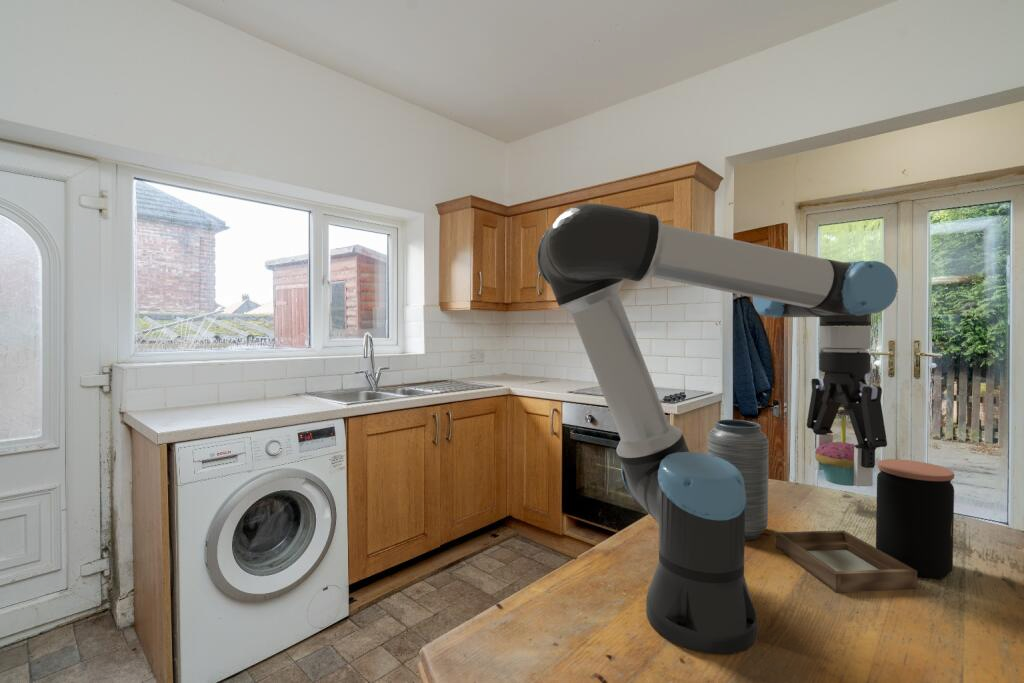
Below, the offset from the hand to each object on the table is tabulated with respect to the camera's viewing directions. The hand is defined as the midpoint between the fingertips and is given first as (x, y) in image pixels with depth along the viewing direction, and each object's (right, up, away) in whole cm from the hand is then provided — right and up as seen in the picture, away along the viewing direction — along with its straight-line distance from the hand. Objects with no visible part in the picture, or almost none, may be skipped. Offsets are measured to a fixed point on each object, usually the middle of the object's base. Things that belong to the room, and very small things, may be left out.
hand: (842, 476), depth 86 cm
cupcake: (0, -1, 0) cm, 1 cm away
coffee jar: (+13, -16, +1) cm, 21 cm away
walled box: (0, -16, +1) cm, 16 cm away
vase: (-12, -16, +16) cm, 25 cm away
